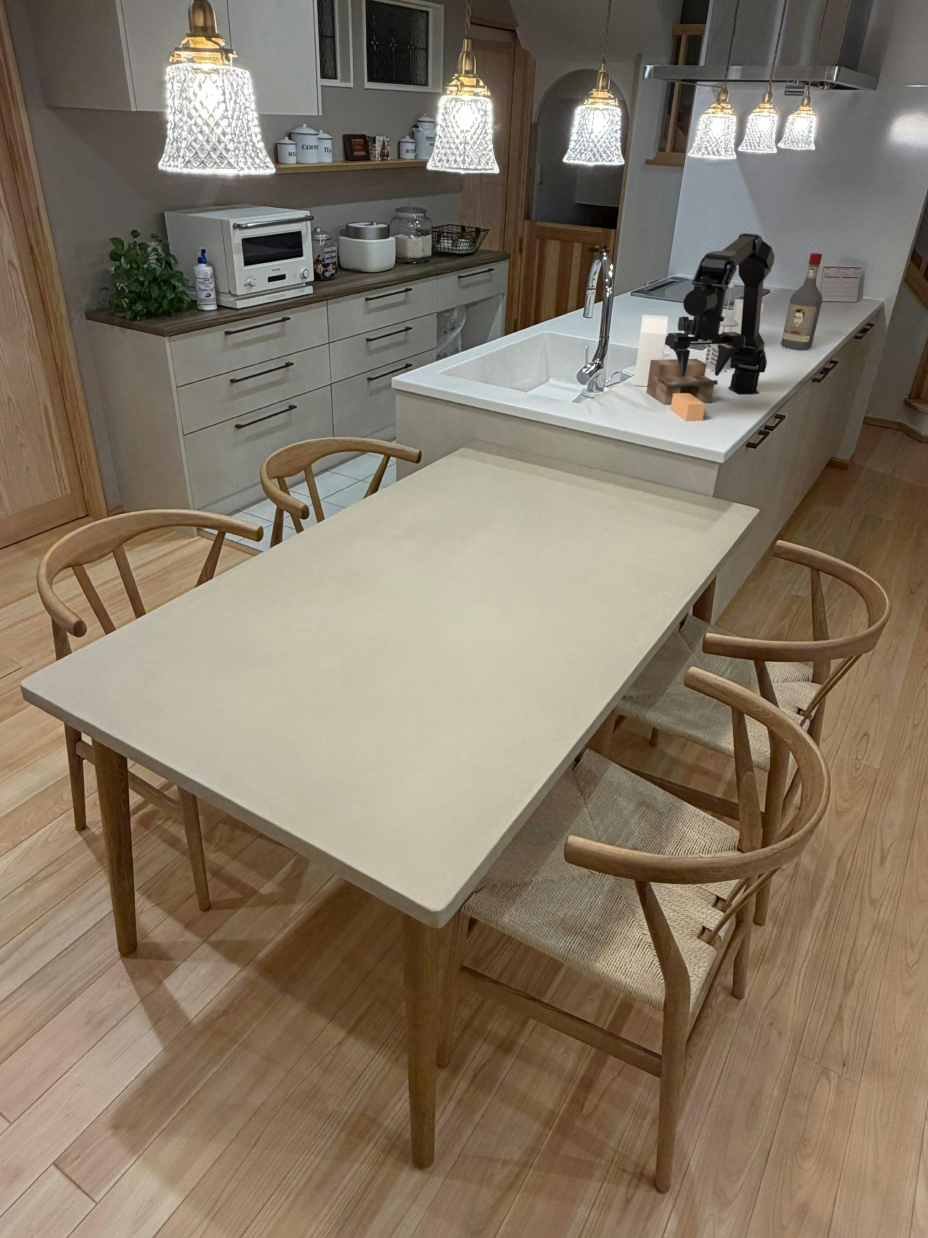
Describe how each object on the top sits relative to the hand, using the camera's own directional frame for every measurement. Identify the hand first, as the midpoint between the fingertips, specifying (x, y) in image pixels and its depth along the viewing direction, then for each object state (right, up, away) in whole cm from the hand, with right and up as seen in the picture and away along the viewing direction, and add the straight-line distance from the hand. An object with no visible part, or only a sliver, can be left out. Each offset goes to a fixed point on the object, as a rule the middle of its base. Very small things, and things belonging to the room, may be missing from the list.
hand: (699, 375), depth 210 cm
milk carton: (-6, +8, +34) cm, 36 cm away
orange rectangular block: (-1, -8, +8) cm, 12 cm away
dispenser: (0, +1, +22) cm, 22 cm away
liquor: (+57, +34, +83) cm, 106 cm away
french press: (+20, +18, +54) cm, 60 cm away
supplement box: (+37, +33, +80) cm, 94 cm away
